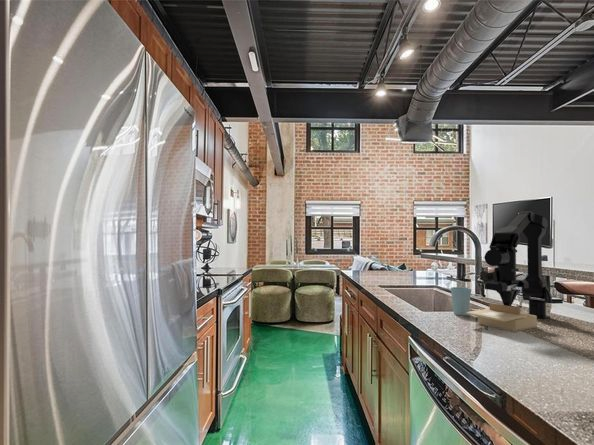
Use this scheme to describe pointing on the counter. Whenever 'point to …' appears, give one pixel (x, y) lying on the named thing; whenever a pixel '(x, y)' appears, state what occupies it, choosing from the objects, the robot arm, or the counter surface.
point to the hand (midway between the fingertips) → (507, 309)
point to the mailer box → (511, 323)
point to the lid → (499, 312)
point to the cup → (460, 300)
